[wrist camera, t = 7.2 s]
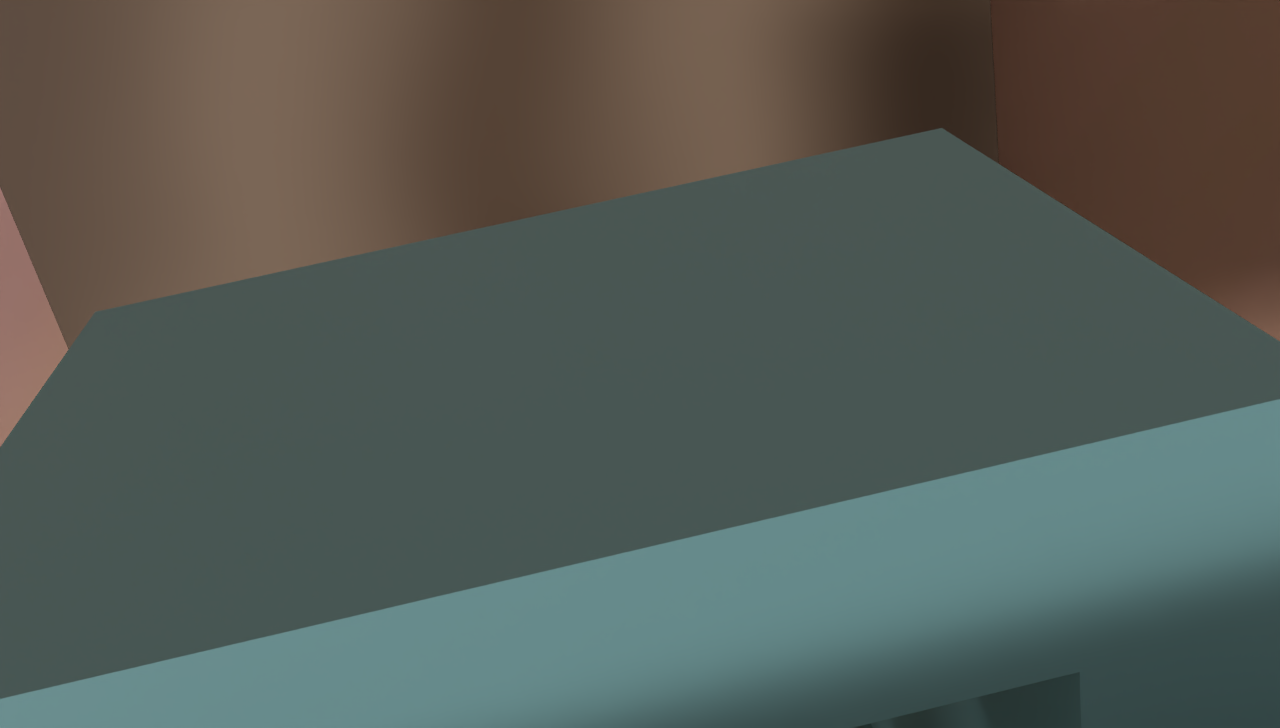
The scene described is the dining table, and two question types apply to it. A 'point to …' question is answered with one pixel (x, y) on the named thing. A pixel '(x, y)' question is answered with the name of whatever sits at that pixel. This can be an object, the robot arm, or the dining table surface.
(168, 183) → the post base
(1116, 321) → the collar
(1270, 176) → the dining table surface
